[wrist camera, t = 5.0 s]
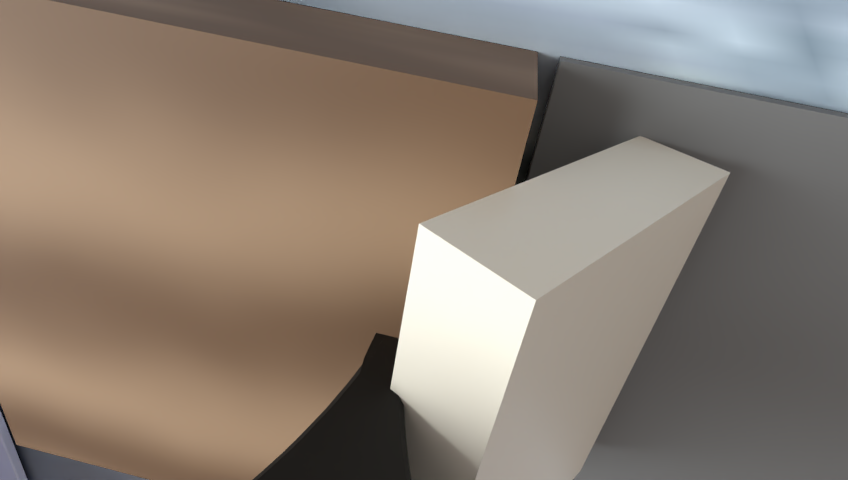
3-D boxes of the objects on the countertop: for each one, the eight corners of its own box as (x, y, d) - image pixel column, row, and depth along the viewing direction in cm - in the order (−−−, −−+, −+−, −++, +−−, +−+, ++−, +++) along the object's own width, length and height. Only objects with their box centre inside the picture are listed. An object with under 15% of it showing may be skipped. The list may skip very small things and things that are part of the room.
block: (526, 427, 18) (580, 471, 17) (356, 581, 13) (415, 656, 12) (640, 135, 12) (730, 172, 11) (418, 223, 8) (536, 300, 7)
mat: (854, 557, 19) (860, 569, 18) (448, 455, 20) (446, 465, 19) (1250, 193, 11) (1272, 203, 11) (560, 56, 12) (560, 61, 12)
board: (434, 452, 20) (416, 549, 17) (91, 366, 20) (16, 444, 18) (537, 51, 12) (538, 100, 9) (-13, -58, 13) (-175, -46, 10)
